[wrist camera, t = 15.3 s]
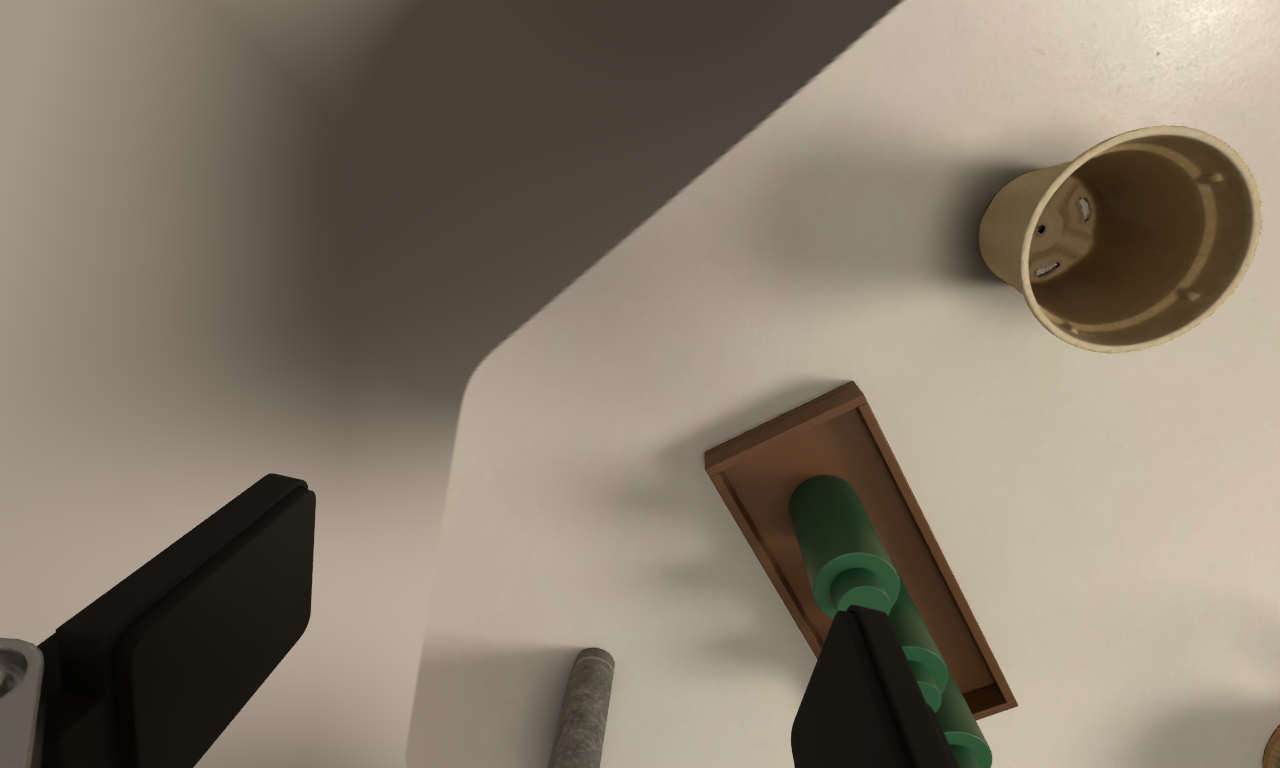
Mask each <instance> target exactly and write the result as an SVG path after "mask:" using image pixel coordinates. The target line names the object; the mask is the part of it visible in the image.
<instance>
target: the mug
mask: <svg viewBox="0 0 1280 768" xmlns="http://www.w3.org/2000/svg"><path fill="white" fill-rule="evenodd" d="M1263 768H1280V727H1279V728H1278V729H1277V730H1276V732H1275V733H1274V734H1273V736H1272V738H1271V739H1270V741H1269V743H1268V745H1267V748H1266V750H1265V754H1264V760H1263Z"/></svg>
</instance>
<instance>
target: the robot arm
mask: <svg viewBox="0 0 1280 768" xmlns="http://www.w3.org/2000/svg"><path fill="white" fill-rule="evenodd" d="M315 507H316V496H315V493H314V492H313V491H310V490H308V485H307V483H306V482H305V481H304V480H300V479H296V478H291V477H287V476H283V475H278V474H268V475H266V476H265V477H263V478H262V479H260V480H259V481H258V482H256V483H255V484H254V485H252V486H251V487H250V488H248V489H247V490H245V491H244V492H243V493H241V494H240V495H239V496H238V497H236V498H235V499H233V500H232V501H230V502H229V503H228V504H226V505H225V506H224V507H222V508H221V509H219V510H218V511H217V512H216V513H214V514H213V515H211V516H210V517H209V518H208V519H206V520H204V521H203V522H202V523H200V524H199V525H198V526H196V527H195V528H194V529H192V530H191V531H189V532H188V533H187V534H185V535H184V536H183V537H182V538H180V539H179V540H177V541H176V542H174V543H173V544H172V545H170V546H169V547H168V548H166V549H165V550H164V551H162V552H161V553H159V554H158V555H157V556H156V557H154V558H153V559H151V560H150V561H149V562H147V563H146V564H145V565H143V566H142V567H141V568H139V569H138V570H136V571H135V572H134V573H132V574H131V575H130V576H128V577H127V578H126V579H124V580H123V581H121V582H120V583H119V584H117V585H116V586H115V587H113V588H112V589H110V590H109V591H108V592H107V593H105V594H104V595H102V596H101V597H99V598H98V599H97V600H95V601H94V602H93V603H91V604H90V605H89V606H87V607H86V608H84V609H83V610H82V611H80V612H79V613H78V614H76V615H75V616H74V617H72V618H71V619H70V620H68V621H67V622H65V623H64V624H63V625H61V626H60V627H59V628H57V629H56V633H54V634H53V635H52V636H50V637H49V638H48V639H46V640H45V641H44V642H42V643H41V644H39V645H38V646H37V647H36V646H35V645H34V644H32V643H29V642H26V641H23V640H20V639H6V638H0V768H193V767H194V766H195V765H196V763H197V762H198V761H199V760H200V759H201V758H202V756H203V755H204V754H205V753H206V752H207V750H208V749H209V748H210V747H211V745H212V744H213V743H214V742H215V741H216V739H217V738H218V737H219V736H220V734H221V733H222V732H223V731H224V730H225V728H226V727H227V726H228V725H229V724H230V722H231V721H232V720H233V719H234V718H235V716H236V715H237V714H238V713H239V711H240V710H241V709H242V708H243V706H244V705H245V704H246V703H247V702H248V700H249V699H250V698H251V697H252V696H253V694H254V693H255V692H256V691H257V690H258V688H259V687H260V686H261V685H262V684H263V682H264V681H265V680H266V679H267V677H268V676H269V675H270V674H271V673H272V671H273V670H274V669H275V668H276V666H277V665H278V664H279V663H280V662H281V660H282V659H283V658H284V657H285V656H286V654H287V653H288V652H289V651H290V649H291V648H292V647H293V646H294V645H295V643H296V642H297V641H298V640H299V639H300V637H301V636H302V634H303V633H304V631H305V629H306V627H307V625H308V622H309V619H310V613H311V593H312V571H313V549H314V529H315ZM791 747H792V753H793V759H794V765H795V768H960V767H959V765H958V763H957V761H956V759H955V756H954V754H953V752H952V750H951V747H950V745H949V743H948V741H947V739H946V736H945V734H944V732H943V730H942V727H941V725H940V723H939V721H938V718H937V716H936V714H935V712H934V711H933V709H932V707H931V706H930V705H929V704H928V703H926V701H925V699H924V696H923V694H922V692H921V689H920V687H919V685H918V683H917V680H916V678H915V676H914V674H913V671H912V669H911V667H910V664H909V662H908V660H907V658H906V655H905V653H904V651H903V649H902V646H901V644H900V642H899V640H898V637H897V635H896V633H895V630H894V628H893V626H892V624H891V621H890V619H889V617H888V615H887V614H886V613H885V612H883V611H880V610H875V609H871V608H867V607H862V606H858V605H850V606H849V607H848V608H847V610H846V611H841V610H840V611H838V612H837V613H836V615H835V617H834V619H833V622H832V624H831V627H830V630H829V632H828V635H827V637H826V640H825V642H824V645H823V648H822V650H821V653H820V655H819V658H818V661H817V663H816V666H815V668H814V671H813V673H812V676H811V679H810V681H809V684H808V686H807V689H806V692H805V694H804V697H803V699H802V702H801V704H800V707H799V710H798V712H797V715H796V717H795V720H794V723H793V726H792V732H791Z"/></svg>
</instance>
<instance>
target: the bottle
mask: <svg viewBox="0 0 1280 768" xmlns="http://www.w3.org/2000/svg"><path fill="white" fill-rule="evenodd" d="M789 513H790V516H791V520H792V523H793V527H794V530H795V534H796V537H797V541H798V544H799V548H800V551H801V555H802V558H803V562H804V565H805V569H806V572H807V576H808V579H809V582H810V586H811V589H812V593H813V596H814V600H815V602H816V604H817V605H818V607H819V608H820V609H821V610H822V612H824V613H825V614H826V615H827V616H829V617H831V618H832V619H834V617H835V615H836V613H837V612H838V611H840V610H841V611H846V610H847V608H848V607H849V606H850V605H858V606H862V607H867V608H871V609H875V610H880V611H883V612H885V613H886V614H887V615H888V616H889V613H890V610H891V608H892V606H893V605H894V604H895V602H896V600H897V598H898V596H899V591H900V579H899V576H898V573H897V571H896V569H895V567H894V565H893V563H892V561H891V559H890V557H889V555H888V553H887V551H886V550H885V548H884V546H883V544H882V542H881V540H880V538H879V536H878V534H877V532H876V530H875V528H874V526H873V524H872V522H871V520H870V518H869V516H868V514H867V512H866V510H865V508H864V506H863V504H862V502H861V501H860V499H859V497H858V495H857V493H856V491H855V489H854V488H853V487H852V486H851V485H850V484H849V483H848V482H846V481H845V480H843V479H840V478H838V477H834V476H817V477H813V478H811V479H808V480H807V481H805V482H803V483H802V484H801V485H800V486H798V487H797V489H796V490H795V491H794V493H793V494H792V496H791V499H790V503H789Z"/></svg>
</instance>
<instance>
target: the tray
mask: <svg viewBox="0 0 1280 768" xmlns="http://www.w3.org/2000/svg"><path fill="white" fill-rule="evenodd" d="M704 455H705V470H706V472H707V474H708V475H709V477H710V479H711V480H712V482H713V484H714V485H715V487H716V489H717V490H718V492H719V494H720V495H721V497H722V499H723V501H724V502H725V504H726V506H727V507H728V509H729V511H730V512H731V514H732V516H733V517H734V519H735V521H736V523H737V524H738V526H739V528H740V529H741V531H742V533H743V534H744V536H745V538H746V539H747V541H748V543H749V544H750V546H751V548H752V550H753V551H754V553H755V555H756V556H757V558H758V560H759V561H760V563H761V565H762V566H763V568H764V570H765V571H766V573H767V575H768V577H769V578H770V580H771V582H772V583H773V585H774V587H775V588H776V590H777V592H778V593H779V595H780V597H781V598H782V600H783V602H784V604H785V605H786V607H787V609H788V610H789V612H790V614H791V615H792V617H793V619H794V620H795V622H796V624H797V626H798V627H799V629H800V631H801V632H802V634H803V636H804V637H805V639H806V641H807V642H808V644H809V646H810V647H811V649H812V651H813V653H814V654H815V656H816V658H817V659H818V658H819V655H820V653H821V650H822V648H823V645H824V642H825V640H826V637H827V635H828V632H829V630H830V627H831V624H832V622H833V619H832V618H831V617H829V616H827V615H826V614H825V613H824V612H822V610H821V609H820V608H819V607H818V605H817V604H816V602H815V600H814V596H813V593H812V589H811V586H810V582H809V579H808V576H807V572H806V569H805V565H804V562H803V558H802V555H801V551H800V548H799V544H798V541H797V537H796V534H795V530H794V527H793V523H792V520H791V516H790V513H789V503H790V499H791V496H792V494H793V493H794V491H795V490H796V489H797V487H798V486H800V485H801V484H802V483H803V482H805V481H807V480H808V479H811V478H813V477H817V476H834V477H838V478H840V479H843V480H845V481H846V482H848V483H849V484H850V485H851V486H852V487H853V488H854V489H855V491H856V493H857V495H858V497H859V499H860V501H861V502H862V504H863V506H864V508H865V510H866V512H867V514H868V516H869V518H870V520H871V522H872V524H873V526H874V528H875V530H876V532H877V534H878V536H879V538H880V540H881V542H882V544H883V546H884V548H885V550H886V551H887V553H888V555H889V557H890V559H891V561H892V563H893V565H894V566H895V567H896V569H897V570H898V572H899V574H900V576H901V578H902V580H903V582H904V584H905V586H906V588H907V590H908V592H909V594H910V596H911V598H912V600H913V602H914V603H915V605H916V607H917V609H918V611H919V613H920V615H921V617H922V619H923V621H924V623H925V625H926V627H927V629H928V631H929V633H930V635H931V637H932V638H933V640H934V641H935V643H936V645H937V647H938V649H939V651H940V653H941V654H942V656H943V658H944V660H945V662H946V664H947V666H948V668H949V670H950V672H951V674H952V676H953V678H954V680H955V682H956V684H957V685H958V687H959V689H960V691H961V693H962V695H963V697H964V699H965V701H966V703H967V705H968V707H969V709H970V711H971V713H972V715H973V717H974V718H975V720H979V719H982V718H985V717H988V716H991V715H994V714H996V713H999V712H1002V711H1005V710H1008V709H1011V708H1014V707H1017V706H1018V704H1017V702H1016V700H1015V698H1014V696H1013V694H1012V692H1011V690H1010V688H1009V686H1008V684H1007V682H1006V680H1005V678H1004V676H1003V673H1002V671H1001V669H1000V667H999V665H998V663H997V661H996V659H995V657H994V655H993V653H992V651H991V649H990V647H989V645H988V643H987V641H986V639H985V637H984V635H983V633H982V631H981V629H980V627H979V625H978V623H977V621H976V619H975V617H974V615H973V613H972V611H971V609H970V607H969V605H968V603H967V601H966V599H965V597H964V595H963V593H962V591H961V589H960V587H959V585H958V583H957V581H956V579H955V577H954V575H953V573H952V571H951V569H950V567H949V565H948V563H947V561H946V559H945V557H944V555H943V553H942V551H941V549H940V547H939V545H938V543H937V541H936V539H935V537H934V535H933V533H932V531H931V529H930V527H929V525H928V523H927V521H926V519H925V517H924V515H923V513H922V511H921V509H920V507H919V505H918V503H917V501H916V499H915V497H914V495H913V493H912V491H911V488H910V486H909V484H908V482H907V480H906V478H905V476H904V474H903V472H902V470H901V468H900V466H899V464H898V462H897V460H896V458H895V456H894V454H893V452H892V450H891V448H890V446H889V444H888V442H887V440H886V438H885V436H884V434H883V432H882V430H881V428H880V426H879V424H878V422H877V420H876V418H875V416H874V414H873V412H872V410H871V408H870V406H869V404H868V402H867V400H866V398H865V396H864V394H863V393H862V391H861V390H860V389H859V388H858V386H857V385H856V384H855V382H854V381H852V382H850V383H848V384H846V385H844V386H842V387H840V388H838V389H836V390H833V391H831V392H829V393H827V394H825V395H823V396H821V397H819V398H817V399H815V400H813V401H811V402H809V403H807V404H804V405H802V406H800V407H798V408H796V409H794V410H792V411H790V412H788V413H786V414H784V415H782V416H780V417H778V418H775V419H773V420H771V421H769V422H767V423H765V424H763V425H761V426H759V427H757V428H755V429H753V430H751V431H749V432H746V433H744V434H742V435H740V436H738V437H736V438H734V439H732V440H730V441H728V442H726V443H724V444H722V445H720V446H717V447H715V448H713V449H711V450H709V451H707V452H705V453H704Z"/></svg>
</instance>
